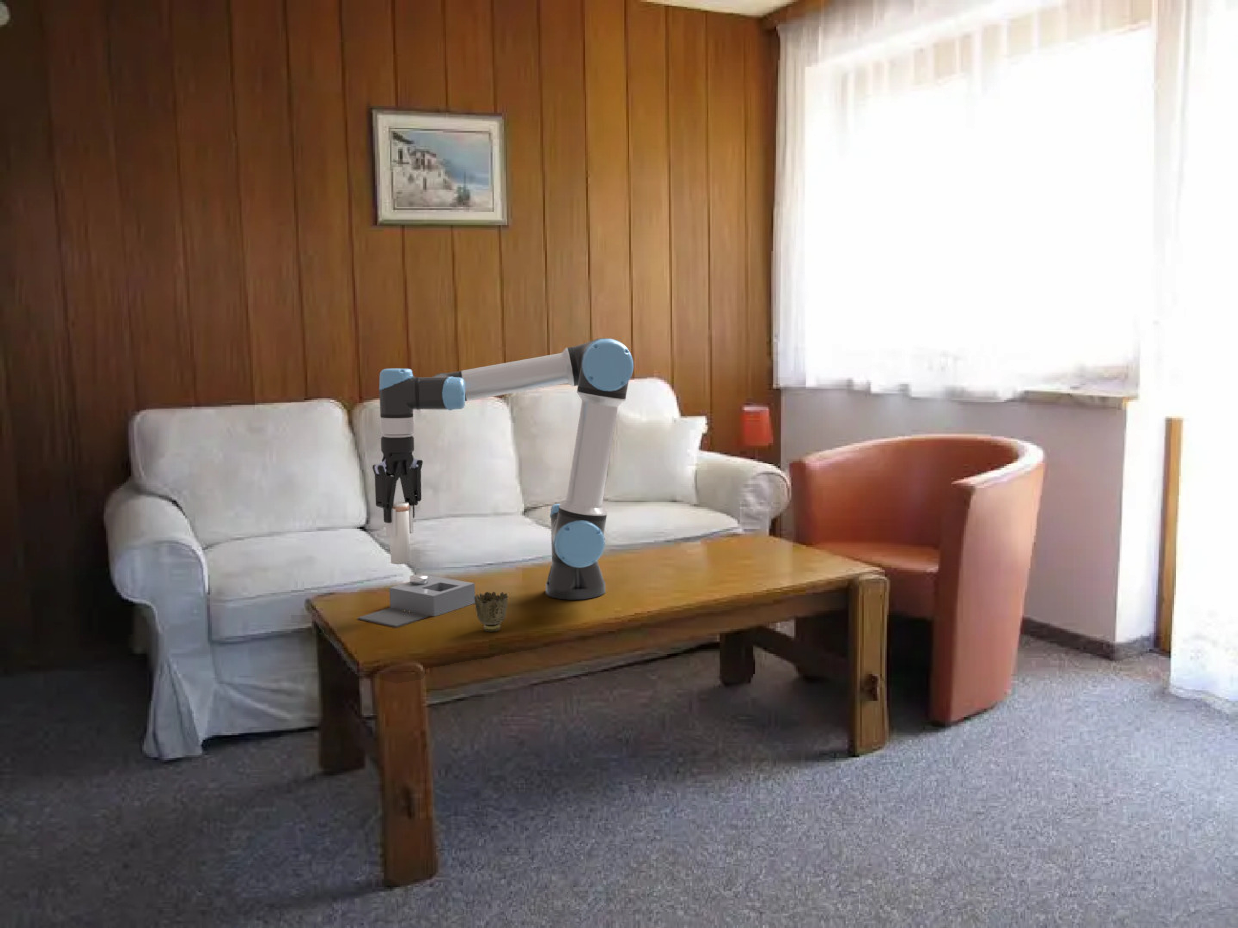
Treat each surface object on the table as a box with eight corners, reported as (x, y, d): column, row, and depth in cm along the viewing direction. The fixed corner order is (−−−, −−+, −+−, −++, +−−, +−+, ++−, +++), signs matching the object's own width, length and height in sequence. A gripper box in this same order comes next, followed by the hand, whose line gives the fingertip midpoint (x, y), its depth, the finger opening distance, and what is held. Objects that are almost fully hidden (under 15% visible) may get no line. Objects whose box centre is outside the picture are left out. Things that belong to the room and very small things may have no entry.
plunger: (432, 599, 261) (431, 575, 260) (419, 603, 258) (418, 579, 257) (420, 596, 264) (418, 573, 263) (407, 600, 260) (405, 577, 259)
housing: (475, 603, 259) (474, 583, 259) (434, 616, 248) (433, 596, 247) (431, 594, 268) (430, 575, 267) (390, 607, 257) (389, 587, 256)
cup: (469, 633, 234) (468, 598, 233) (485, 624, 241) (483, 590, 240) (499, 636, 232) (498, 601, 231) (514, 627, 239) (513, 592, 237)
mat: (428, 617, 248) (428, 615, 248) (396, 627, 240) (396, 625, 240) (390, 609, 255) (390, 607, 255) (358, 619, 247) (357, 617, 247)
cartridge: (414, 561, 249) (413, 503, 247) (399, 565, 245) (398, 505, 243) (401, 558, 252) (399, 501, 250) (386, 562, 248) (384, 503, 246)
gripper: (414, 431, 254) (416, 526, 257) (356, 437, 239) (359, 538, 243) (436, 433, 249) (438, 530, 252) (378, 439, 235) (381, 542, 238)
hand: (399, 534), depth 247 cm, fingers closed on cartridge, 4 cm apart
